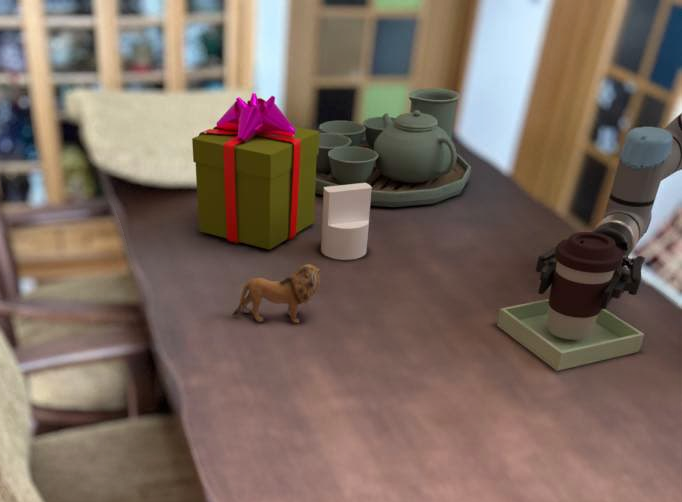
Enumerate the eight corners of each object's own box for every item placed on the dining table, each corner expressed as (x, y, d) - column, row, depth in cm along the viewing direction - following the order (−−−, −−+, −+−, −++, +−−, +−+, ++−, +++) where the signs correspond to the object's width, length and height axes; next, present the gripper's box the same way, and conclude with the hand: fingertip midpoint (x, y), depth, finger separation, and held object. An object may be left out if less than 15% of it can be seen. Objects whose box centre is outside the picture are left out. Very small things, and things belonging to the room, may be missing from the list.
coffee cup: (612, 334, 134) (640, 243, 124) (571, 351, 129) (597, 258, 119) (564, 311, 140) (588, 222, 130) (524, 326, 135) (545, 235, 125)
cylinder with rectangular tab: (356, 239, 166) (360, 177, 158) (373, 256, 159) (379, 193, 152) (314, 244, 164) (316, 182, 156) (330, 262, 157) (334, 198, 149)
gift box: (230, 206, 179) (226, 77, 162) (320, 220, 173) (326, 88, 157) (188, 240, 165) (180, 103, 148) (286, 256, 159) (288, 115, 142)
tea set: (336, 144, 213) (340, 73, 202) (487, 168, 200) (500, 93, 189) (267, 191, 186) (268, 111, 175) (437, 222, 173) (449, 138, 162)
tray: (638, 351, 132) (644, 334, 130) (556, 371, 128) (561, 353, 125) (574, 309, 143) (579, 292, 141) (496, 325, 139) (500, 308, 137)
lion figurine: (316, 309, 142) (318, 258, 136) (319, 323, 139) (322, 272, 133) (231, 311, 142) (230, 260, 136) (232, 325, 138) (231, 273, 132)
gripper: (668, 279, 139) (637, 333, 125) (543, 251, 147) (500, 299, 133) (683, 235, 134) (653, 286, 120) (553, 209, 142) (510, 253, 128)
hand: (573, 292), depth 126 cm, fingers closed on coffee cup, 9 cm apart
